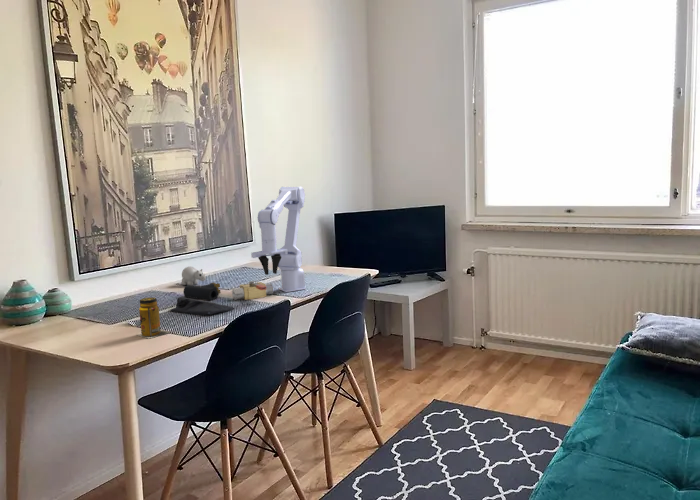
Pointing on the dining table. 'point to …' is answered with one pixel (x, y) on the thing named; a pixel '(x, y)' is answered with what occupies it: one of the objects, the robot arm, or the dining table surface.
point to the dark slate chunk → (199, 307)
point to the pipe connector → (202, 291)
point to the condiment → (150, 318)
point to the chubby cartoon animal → (192, 276)
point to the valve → (251, 291)
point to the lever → (257, 285)
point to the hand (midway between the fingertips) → (270, 273)
